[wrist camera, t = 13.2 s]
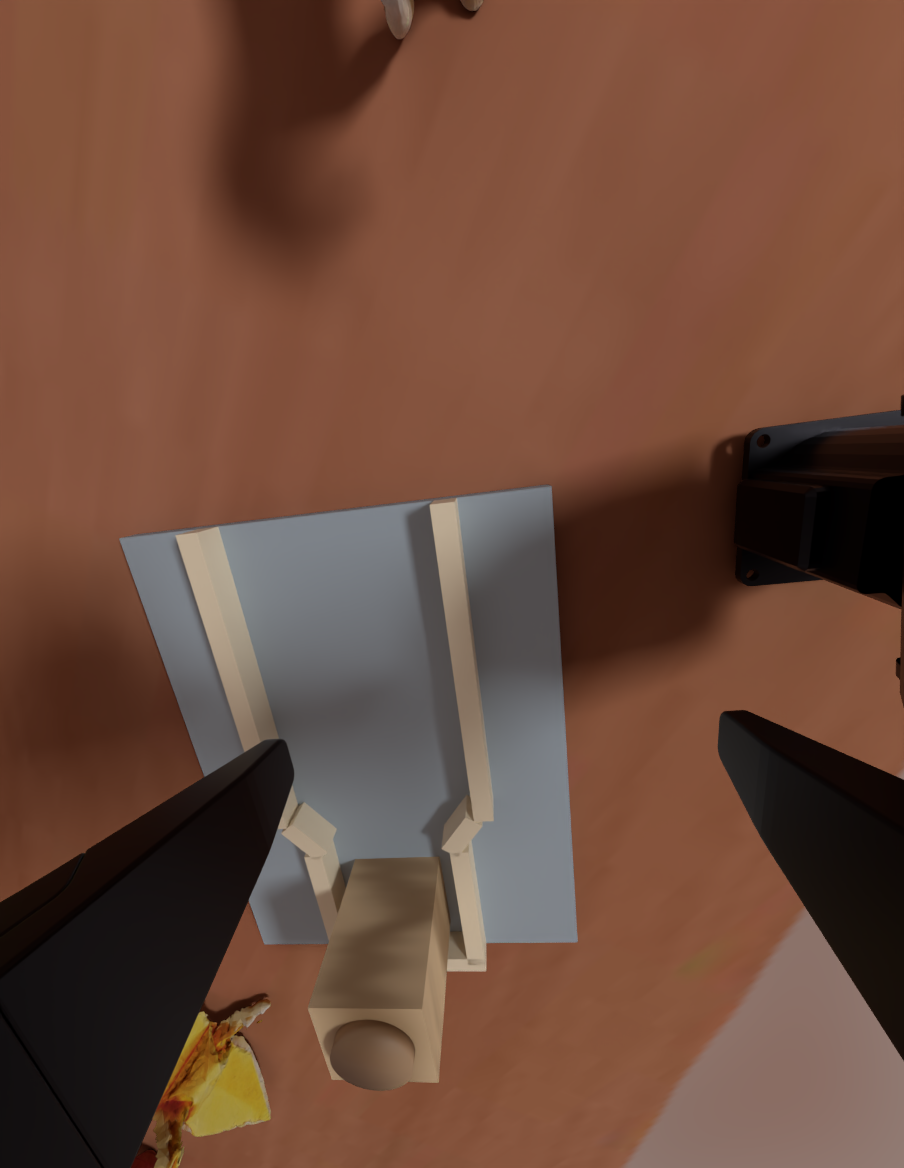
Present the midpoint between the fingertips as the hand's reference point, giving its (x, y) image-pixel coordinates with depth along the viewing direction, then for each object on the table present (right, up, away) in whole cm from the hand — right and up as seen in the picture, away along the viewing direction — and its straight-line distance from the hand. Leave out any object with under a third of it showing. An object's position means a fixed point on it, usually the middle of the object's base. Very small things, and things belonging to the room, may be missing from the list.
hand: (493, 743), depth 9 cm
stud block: (-4, -15, +16) cm, 23 cm away
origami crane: (-19, -26, +23) cm, 40 cm away
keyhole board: (-5, -6, +15) cm, 17 cm away
